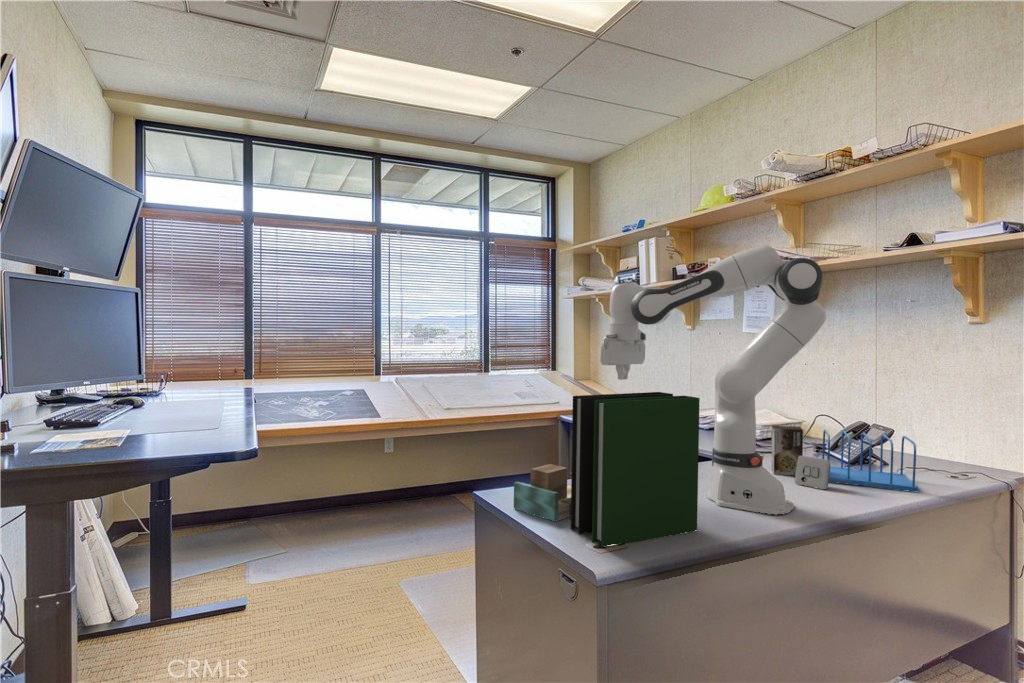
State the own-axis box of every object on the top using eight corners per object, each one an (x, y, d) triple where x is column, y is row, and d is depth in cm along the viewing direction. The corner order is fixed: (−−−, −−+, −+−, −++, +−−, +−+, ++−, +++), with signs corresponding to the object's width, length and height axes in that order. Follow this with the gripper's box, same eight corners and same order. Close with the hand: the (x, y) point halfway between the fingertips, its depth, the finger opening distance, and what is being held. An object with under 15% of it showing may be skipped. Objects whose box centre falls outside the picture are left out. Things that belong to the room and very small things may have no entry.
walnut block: (566, 497, 145) (567, 467, 145) (547, 504, 139) (548, 473, 139) (549, 492, 149) (550, 463, 149) (530, 498, 143) (530, 468, 143)
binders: (603, 549, 118) (606, 402, 118) (567, 527, 131) (569, 395, 131) (697, 531, 130) (699, 397, 129) (655, 512, 143) (657, 391, 143)
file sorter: (824, 482, 176) (825, 435, 176) (819, 471, 192) (820, 427, 192) (918, 493, 166) (919, 443, 166) (904, 479, 182) (905, 434, 182)
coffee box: (799, 472, 189) (800, 426, 189) (802, 477, 183) (803, 429, 182) (770, 470, 192) (771, 424, 192) (773, 474, 186) (774, 427, 185)
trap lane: (600, 504, 149) (600, 479, 149) (554, 521, 135) (554, 493, 135) (560, 493, 159) (560, 469, 159) (513, 508, 144) (514, 482, 144)
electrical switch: (794, 484, 173) (795, 455, 174) (800, 483, 177) (802, 454, 177) (826, 491, 166) (827, 460, 167) (832, 490, 169) (834, 460, 170)
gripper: (613, 334, 158) (612, 381, 158) (649, 335, 172) (648, 378, 173) (595, 334, 162) (594, 380, 162) (631, 335, 177) (631, 377, 177)
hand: (622, 379), depth 168 cm, fingers closed
